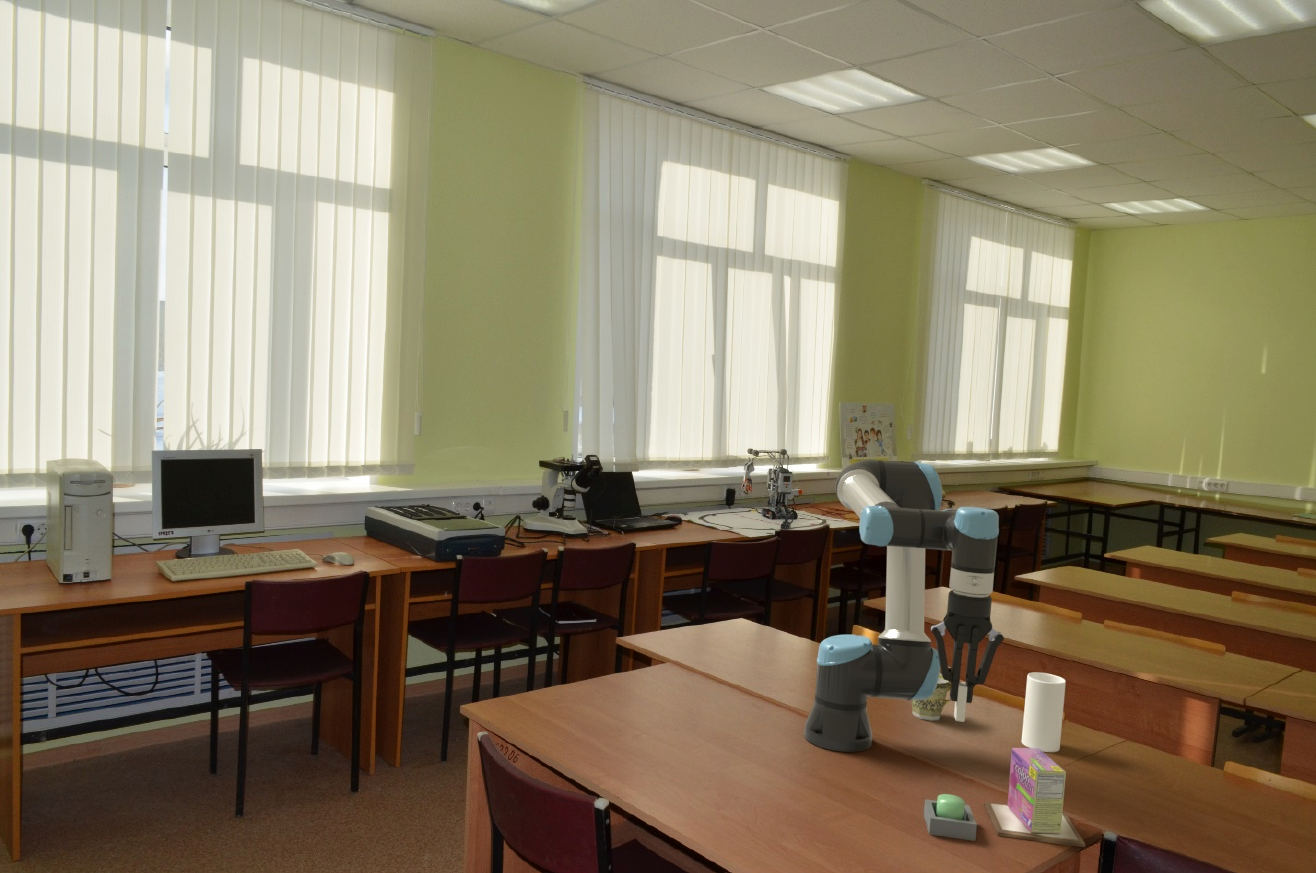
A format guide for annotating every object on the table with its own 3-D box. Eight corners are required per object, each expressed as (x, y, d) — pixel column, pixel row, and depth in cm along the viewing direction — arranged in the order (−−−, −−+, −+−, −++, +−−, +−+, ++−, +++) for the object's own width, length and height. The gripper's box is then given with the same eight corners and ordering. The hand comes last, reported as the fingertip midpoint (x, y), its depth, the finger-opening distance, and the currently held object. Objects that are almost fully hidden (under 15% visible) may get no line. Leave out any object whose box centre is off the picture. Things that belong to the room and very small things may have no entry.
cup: (1063, 754, 210) (1069, 685, 209) (1025, 749, 212) (1031, 680, 211) (1055, 741, 218) (1061, 675, 217) (1018, 736, 220) (1024, 670, 219)
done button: (937, 827, 167) (939, 803, 167) (933, 816, 172) (935, 792, 171) (964, 831, 166) (966, 807, 166) (960, 819, 171) (962, 796, 171)
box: (1005, 806, 177) (1011, 746, 176) (1034, 807, 178) (1040, 748, 177) (1030, 833, 167) (1036, 770, 166) (1060, 834, 167) (1067, 771, 166)
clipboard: (997, 835, 167) (998, 829, 167) (984, 804, 180) (984, 799, 180) (1085, 847, 165) (1085, 841, 165) (1065, 815, 178) (1065, 809, 178)
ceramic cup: (903, 718, 227) (906, 678, 227) (908, 706, 236) (911, 668, 236) (958, 728, 222) (961, 687, 222) (961, 716, 232) (964, 677, 231)
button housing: (929, 834, 166) (930, 818, 166) (923, 814, 174) (925, 799, 173) (975, 841, 164) (976, 824, 164) (967, 820, 172) (969, 805, 172)
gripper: (936, 593, 166) (924, 721, 167) (1012, 601, 163) (999, 730, 165) (931, 584, 173) (920, 707, 174) (1003, 591, 171) (992, 716, 172)
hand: (959, 718), depth 170 cm, fingers closed
